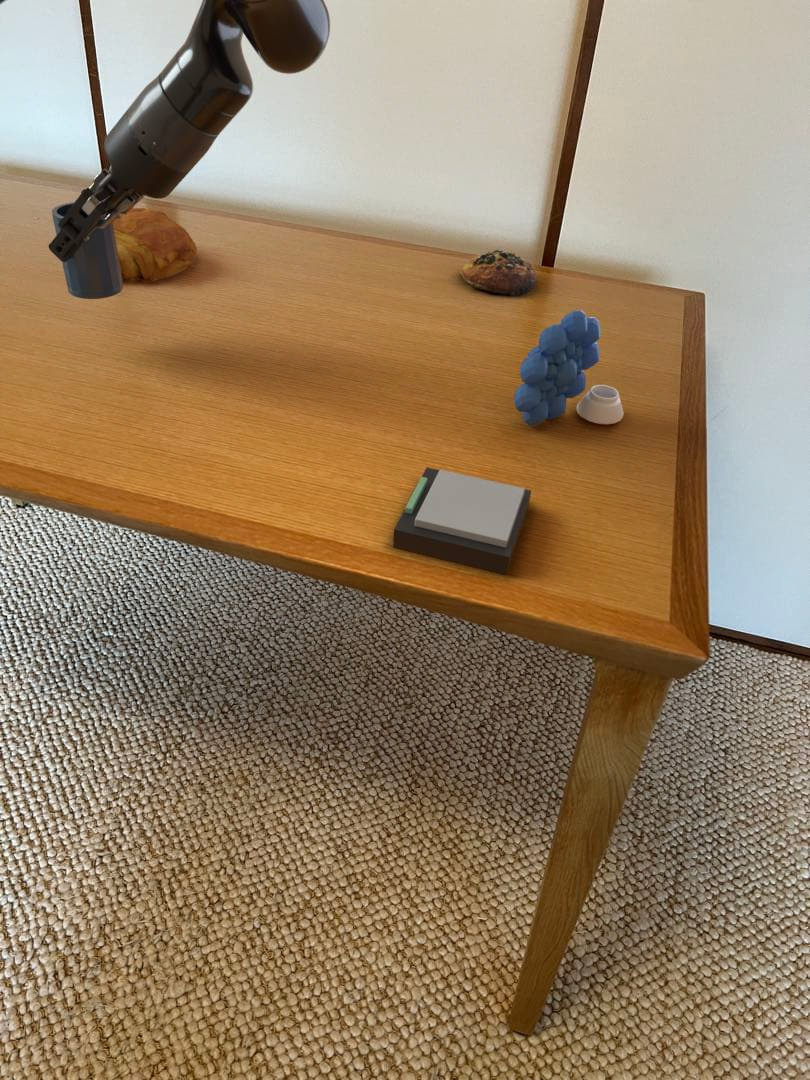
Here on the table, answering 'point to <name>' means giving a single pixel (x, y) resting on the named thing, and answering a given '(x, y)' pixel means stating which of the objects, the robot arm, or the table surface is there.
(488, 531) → the scale
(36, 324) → the table surface
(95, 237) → the cup
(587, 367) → the grapes
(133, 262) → the croissant
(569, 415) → the table surface
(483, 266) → the bread roll
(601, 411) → the white jar
